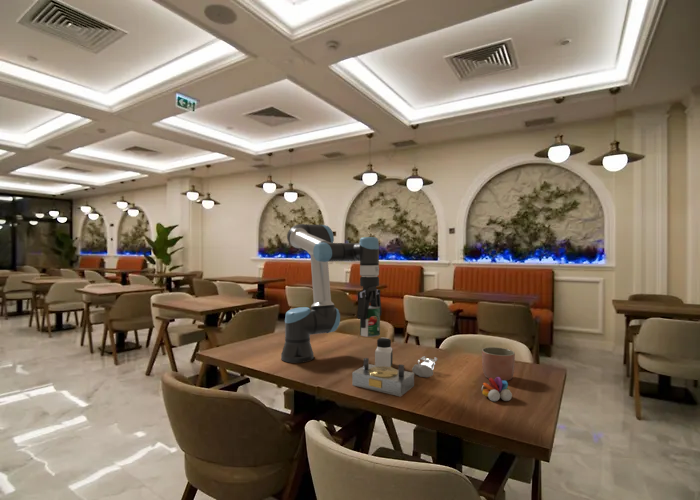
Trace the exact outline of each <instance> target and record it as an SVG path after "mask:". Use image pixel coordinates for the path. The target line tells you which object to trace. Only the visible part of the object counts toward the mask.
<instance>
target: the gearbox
mask: <svg viewBox="0 0 700 500" xmlns="http://www.w3.org/2000/svg"><path fill="white" fill-rule="evenodd" d="M369 360H370V359H369V357H364V358H363V366H361V367H358V368H357V369H356V370H354V371H352V377H351V378H352V379H351V380H352V381H351V382H352V386H354V387H358V388H364V389H366V390H370V391H376V392H379V393H383V394H389V395H393V396H395V397H402V396H404V394H406V393H407V392H409V391H410V390H411V389H412V388H413V387H414V386H415V374H414V373H413V372H412V371H407V370H405V365H404V364H398V369H396V368H395V367H393V366H392V367H386V366H376V365H375V364H370V363H369V362H370V361H369Z"/></svg>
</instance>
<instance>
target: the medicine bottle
mask: <svg viewBox="0 0 700 500" xmlns="http://www.w3.org/2000/svg"><path fill="white" fill-rule="evenodd" d="M376 342H377V343H376V346H377V347H376V349H375V351H374V365H376V366H386V367H392V368H393V363H394V362H393V359H394V358H393V355H394V354H393V351H394V350H393V348H392V344H391V343H392V341H391V339H390V338H388V337H379V338H378V339H377V340H376Z"/></svg>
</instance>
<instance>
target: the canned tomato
mask: <svg viewBox="0 0 700 500" xmlns="http://www.w3.org/2000/svg"><path fill="white" fill-rule="evenodd" d="M367 319H368V337H366V336H364V337H366V338H372V337H374V338H375V337H379V336H380V335H381V327H380V326H381V316H380V306H377V307H374V306H371V305H369V308H368V314H367ZM359 331H360V332H359V335H360V336H361V319H359Z"/></svg>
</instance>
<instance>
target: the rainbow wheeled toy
mask: <svg viewBox="0 0 700 500" xmlns="http://www.w3.org/2000/svg"><path fill="white" fill-rule="evenodd" d="M488 382H489V383H487V382H483V383H482V384H483V385H482V386H481V392H482V395H483V396H485V397H488V399H489V400H490V401H491V402H498V401H499V400H500V399H501V400H502V401H504V402H509V401H510V400H512V397H513V393H512V392H511V390H510V388H508V387H509V383H508V381H502V380H501V378H500V377H496V378H495V380H493V379H492V378H488Z"/></svg>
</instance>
